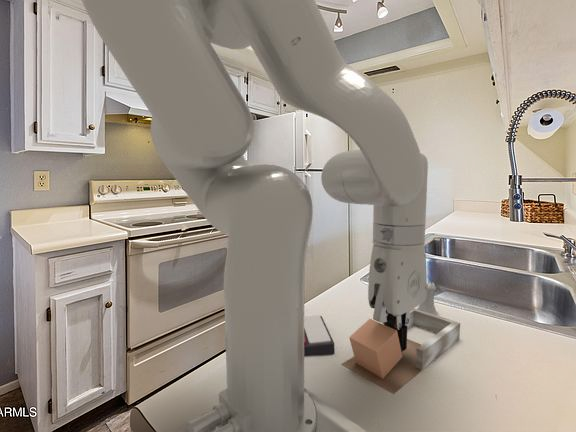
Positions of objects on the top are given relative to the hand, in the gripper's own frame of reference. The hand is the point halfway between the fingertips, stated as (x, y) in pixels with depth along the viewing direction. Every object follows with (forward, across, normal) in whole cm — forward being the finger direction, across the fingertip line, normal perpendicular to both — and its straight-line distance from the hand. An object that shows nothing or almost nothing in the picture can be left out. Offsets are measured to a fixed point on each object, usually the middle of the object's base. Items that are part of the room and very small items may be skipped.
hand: (394, 347), depth 50 cm
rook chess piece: (+4, +21, +5) cm, 22 cm away
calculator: (+4, -9, +16) cm, 19 cm away
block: (+1, -4, +1) cm, 4 cm away
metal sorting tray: (+3, +3, 0) cm, 5 cm away
